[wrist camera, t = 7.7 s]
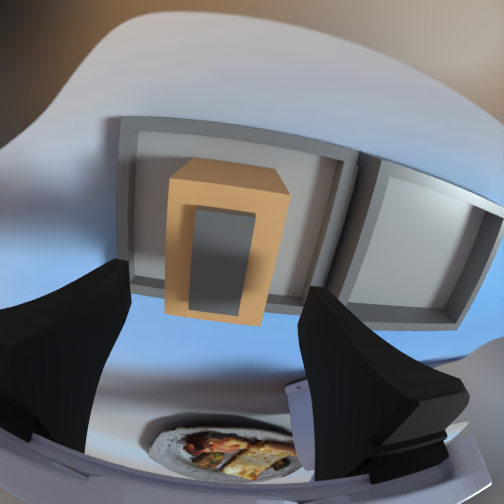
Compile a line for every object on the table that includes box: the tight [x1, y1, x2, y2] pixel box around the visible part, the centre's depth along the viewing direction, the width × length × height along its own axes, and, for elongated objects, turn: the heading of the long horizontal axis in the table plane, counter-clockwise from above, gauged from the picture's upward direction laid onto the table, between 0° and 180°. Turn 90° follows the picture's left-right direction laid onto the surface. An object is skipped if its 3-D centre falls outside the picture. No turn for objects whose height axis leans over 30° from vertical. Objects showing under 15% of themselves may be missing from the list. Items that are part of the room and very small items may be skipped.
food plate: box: [147, 424, 303, 483], centre depth 34 cm, size 25×23×4 cm
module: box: [165, 157, 291, 326], centre depth 15 cm, size 5×7×7 cm
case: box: [324, 152, 504, 331], centre depth 19 cm, size 14×12×3 cm
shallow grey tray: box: [117, 116, 359, 315], centre depth 18 cm, size 15×12×2 cm
